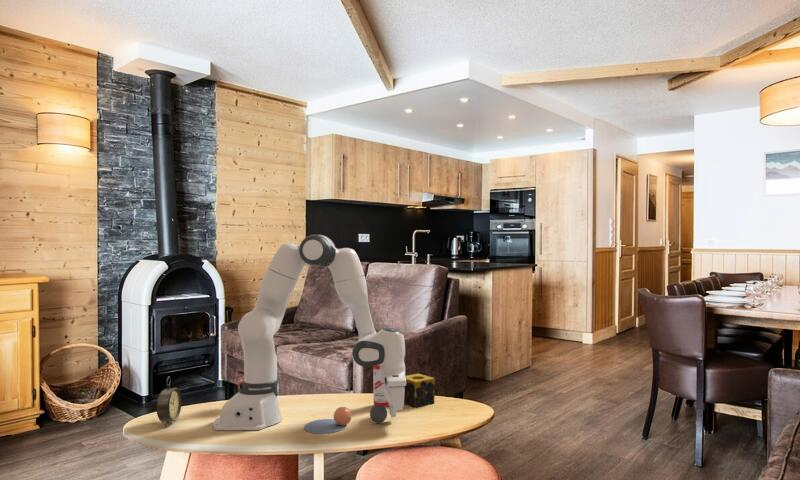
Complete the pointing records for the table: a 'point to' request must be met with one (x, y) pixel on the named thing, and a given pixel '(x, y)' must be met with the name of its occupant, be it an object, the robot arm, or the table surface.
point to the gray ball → (378, 413)
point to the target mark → (323, 426)
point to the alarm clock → (169, 404)
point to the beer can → (378, 388)
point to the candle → (419, 390)
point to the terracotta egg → (342, 416)
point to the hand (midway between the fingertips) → (392, 416)
